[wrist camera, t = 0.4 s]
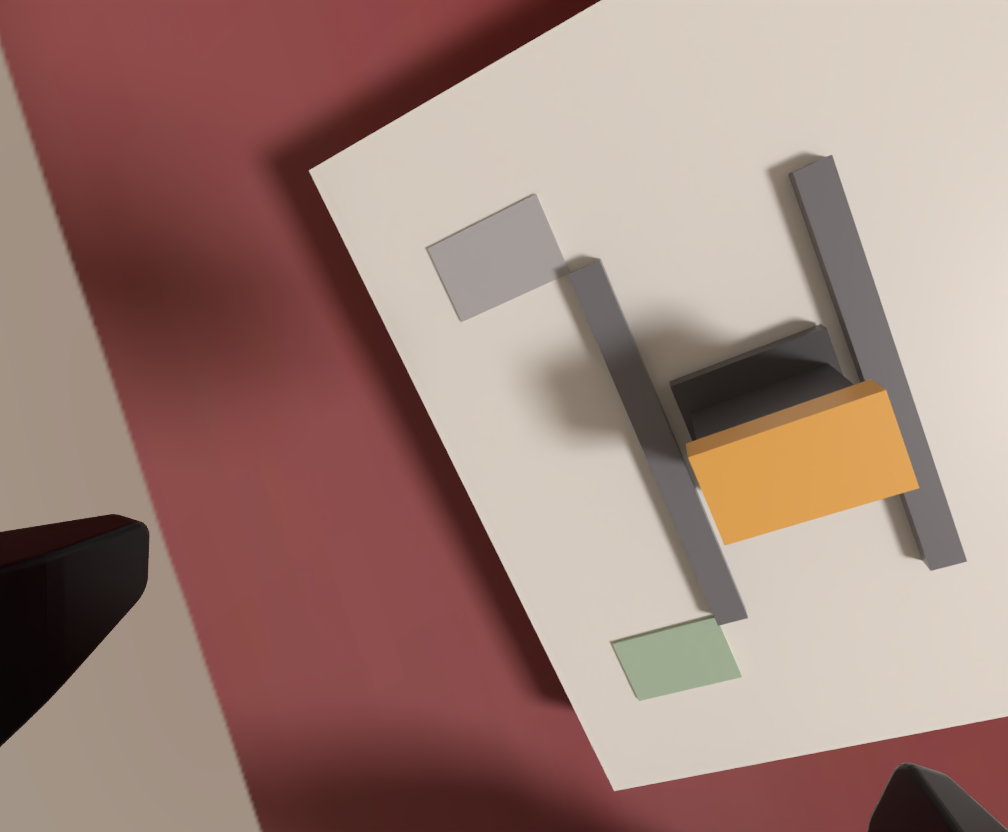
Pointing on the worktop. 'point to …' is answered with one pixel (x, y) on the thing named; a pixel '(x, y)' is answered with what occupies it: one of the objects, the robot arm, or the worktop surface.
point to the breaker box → (715, 352)
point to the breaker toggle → (789, 437)
